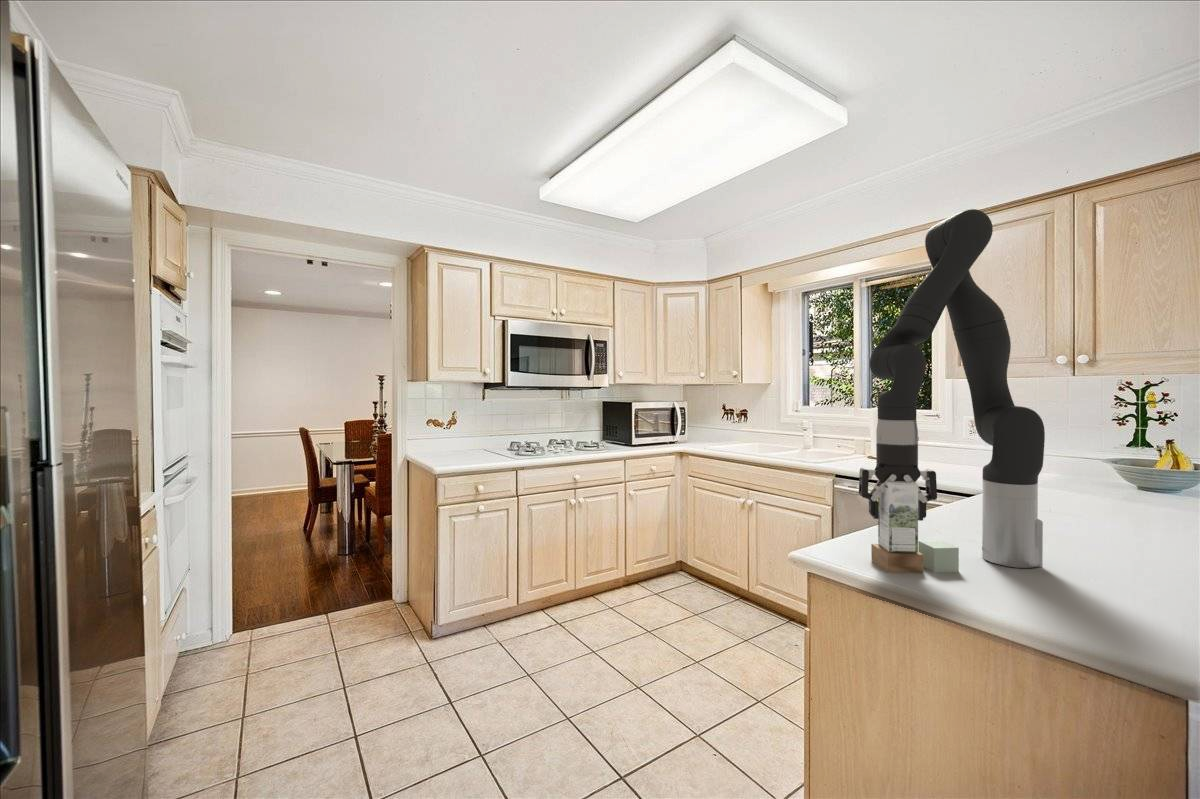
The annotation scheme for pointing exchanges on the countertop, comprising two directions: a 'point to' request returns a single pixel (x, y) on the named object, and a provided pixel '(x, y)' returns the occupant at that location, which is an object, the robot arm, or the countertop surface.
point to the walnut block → (897, 560)
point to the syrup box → (898, 517)
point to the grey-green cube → (939, 556)
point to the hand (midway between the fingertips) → (896, 518)
